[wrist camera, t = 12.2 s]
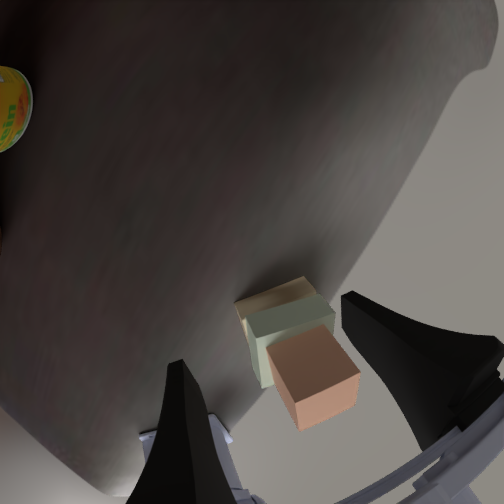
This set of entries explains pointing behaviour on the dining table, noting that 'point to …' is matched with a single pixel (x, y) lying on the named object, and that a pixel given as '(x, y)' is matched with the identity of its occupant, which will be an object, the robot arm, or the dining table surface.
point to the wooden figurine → (0, 242)
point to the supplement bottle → (13, 106)
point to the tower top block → (283, 329)
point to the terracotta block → (313, 376)
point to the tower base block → (273, 299)
